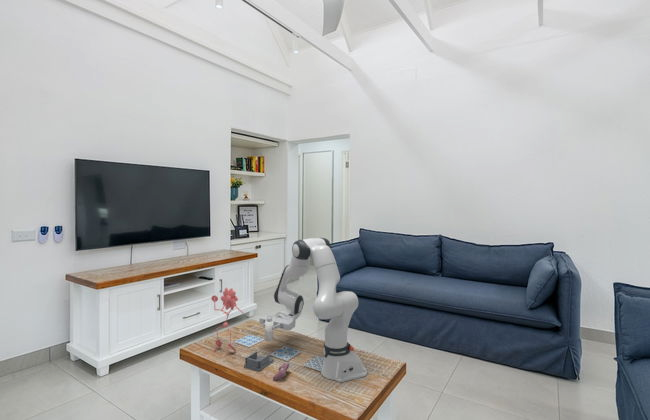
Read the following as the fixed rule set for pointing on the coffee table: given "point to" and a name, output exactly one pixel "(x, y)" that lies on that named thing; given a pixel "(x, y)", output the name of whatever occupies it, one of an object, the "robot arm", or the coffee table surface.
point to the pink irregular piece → (281, 371)
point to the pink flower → (228, 302)
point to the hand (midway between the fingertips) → (268, 327)
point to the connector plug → (269, 329)
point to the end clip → (257, 362)
